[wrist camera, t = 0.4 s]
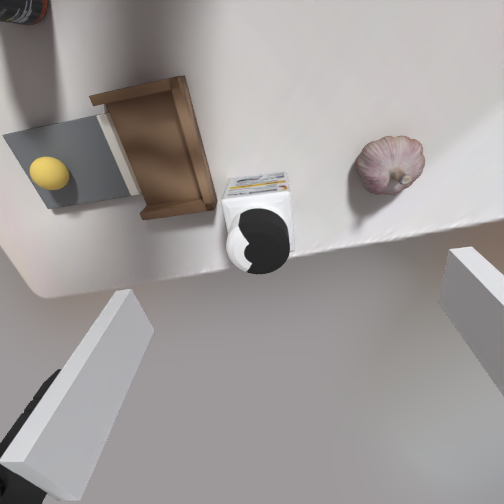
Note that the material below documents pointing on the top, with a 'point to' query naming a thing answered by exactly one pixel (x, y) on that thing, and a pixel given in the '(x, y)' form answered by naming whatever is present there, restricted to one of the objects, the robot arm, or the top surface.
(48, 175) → the ball
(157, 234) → the top surface
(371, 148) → the garlic bulb
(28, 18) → the supplement bottle
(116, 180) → the grey flat slab
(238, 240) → the container
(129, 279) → the top surface
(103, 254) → the top surface
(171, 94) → the tray
